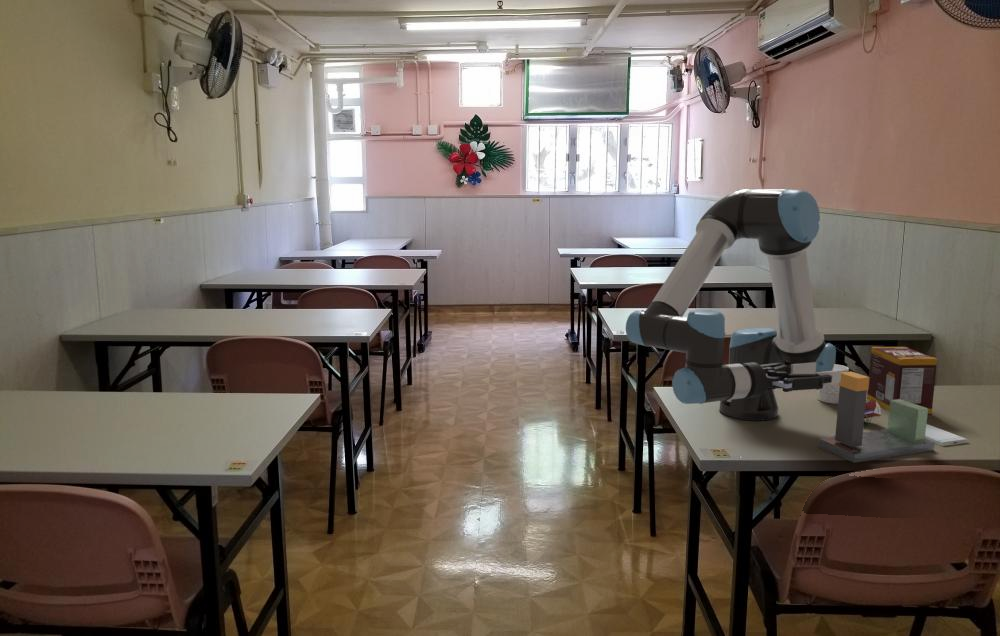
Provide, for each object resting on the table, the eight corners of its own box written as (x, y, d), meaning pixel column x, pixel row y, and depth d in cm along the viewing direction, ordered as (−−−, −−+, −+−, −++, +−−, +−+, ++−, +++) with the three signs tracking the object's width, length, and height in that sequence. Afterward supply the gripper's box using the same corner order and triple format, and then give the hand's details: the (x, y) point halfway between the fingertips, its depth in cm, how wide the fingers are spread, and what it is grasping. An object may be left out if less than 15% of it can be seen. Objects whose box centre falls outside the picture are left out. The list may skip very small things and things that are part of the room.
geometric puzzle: (842, 415, 195) (864, 394, 191) (842, 408, 201) (864, 387, 198) (865, 434, 193) (887, 413, 190) (864, 426, 199) (886, 406, 196)
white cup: (810, 397, 219) (813, 363, 217) (836, 396, 220) (839, 363, 218) (825, 404, 211) (828, 370, 209) (851, 404, 212) (854, 370, 210)
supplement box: (900, 398, 218) (905, 346, 215) (932, 414, 203) (938, 358, 200) (865, 398, 218) (870, 346, 215) (894, 414, 202) (900, 358, 200)
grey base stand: (853, 462, 167) (857, 420, 166) (818, 446, 178) (821, 406, 176) (933, 450, 175) (938, 409, 174) (895, 435, 186) (899, 396, 184)
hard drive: (900, 425, 190) (942, 441, 178) (925, 422, 192) (968, 438, 181) (899, 432, 190) (941, 448, 178) (925, 429, 193) (968, 444, 181)
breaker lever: (851, 447, 170) (857, 378, 167) (833, 439, 175) (839, 372, 172) (862, 445, 171) (869, 377, 168) (845, 438, 176) (851, 371, 173)
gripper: (712, 386, 170) (794, 377, 177) (771, 410, 151) (859, 400, 159) (714, 353, 168) (797, 346, 176) (773, 375, 150) (862, 366, 158)
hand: (826, 372), depth 167 cm, fingers open, 7 cm apart
